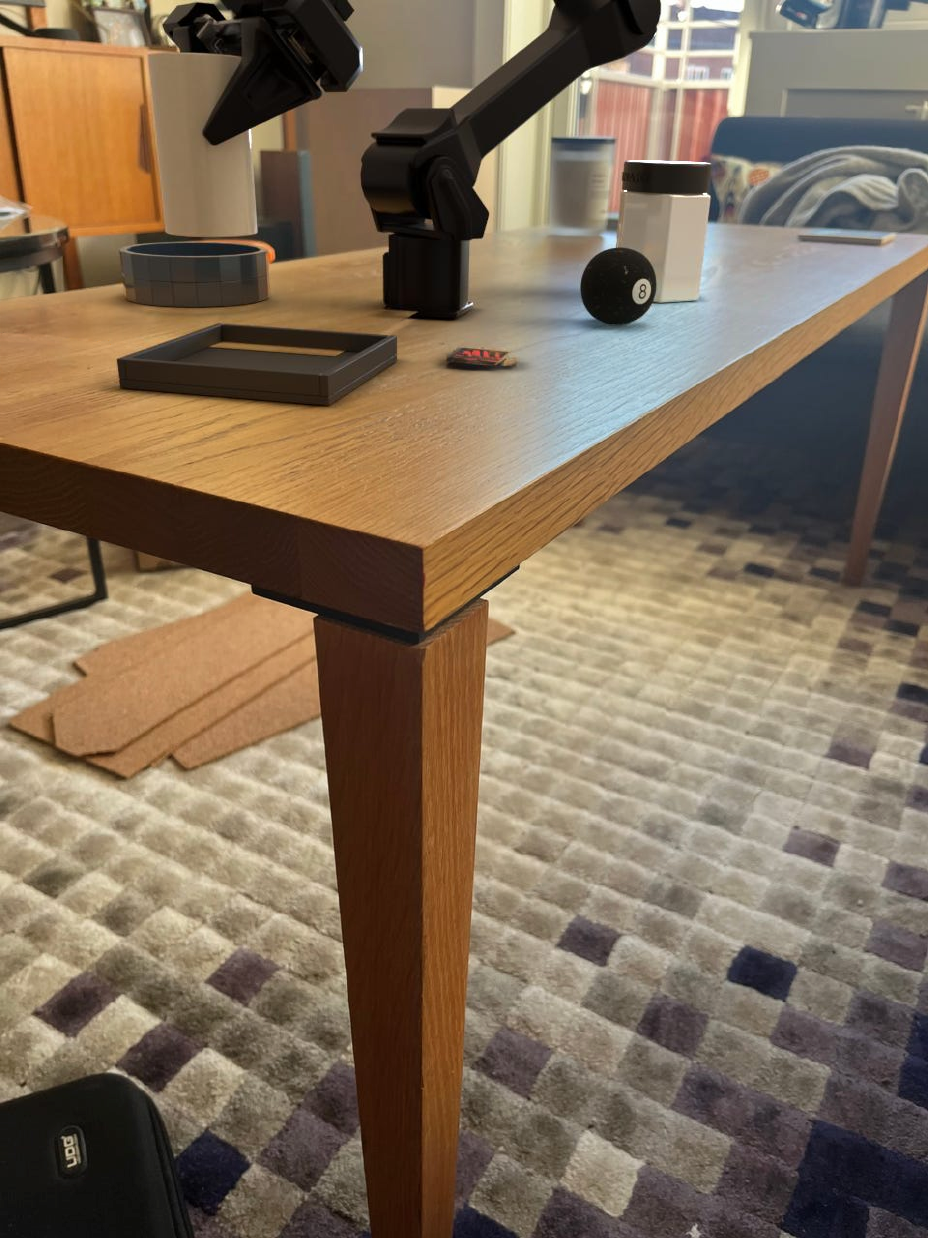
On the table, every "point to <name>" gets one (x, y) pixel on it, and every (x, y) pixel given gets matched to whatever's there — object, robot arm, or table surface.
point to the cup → (199, 149)
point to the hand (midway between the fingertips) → (185, 138)
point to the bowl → (195, 274)
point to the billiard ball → (618, 286)
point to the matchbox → (480, 356)
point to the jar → (667, 222)
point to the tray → (259, 364)
